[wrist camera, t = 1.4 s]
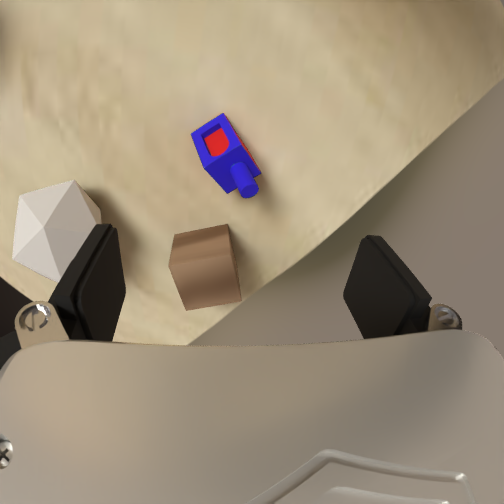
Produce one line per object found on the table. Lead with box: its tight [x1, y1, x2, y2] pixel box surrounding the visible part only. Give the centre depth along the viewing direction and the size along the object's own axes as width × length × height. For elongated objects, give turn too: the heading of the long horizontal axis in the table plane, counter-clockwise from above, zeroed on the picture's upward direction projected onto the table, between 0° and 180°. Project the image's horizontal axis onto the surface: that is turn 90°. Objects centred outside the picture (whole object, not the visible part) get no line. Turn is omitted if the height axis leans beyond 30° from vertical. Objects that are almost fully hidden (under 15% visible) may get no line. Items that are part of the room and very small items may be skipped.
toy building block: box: [191, 113, 261, 198], centre depth 21 cm, size 3×4×7 cm
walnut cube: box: [169, 224, 241, 311], centre depth 26 cm, size 5×5×5 cm
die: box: [13, 180, 102, 283], centre depth 21 cm, size 8×9×10 cm
